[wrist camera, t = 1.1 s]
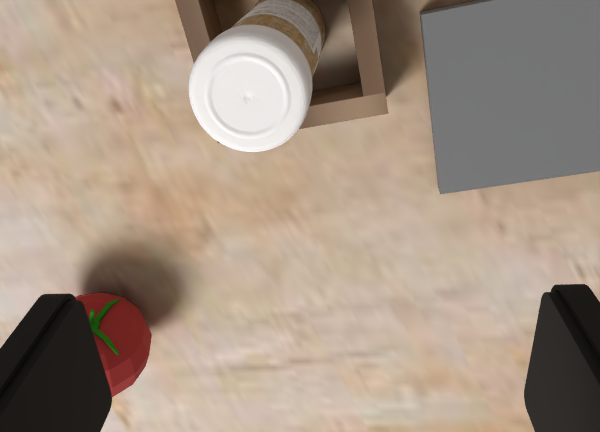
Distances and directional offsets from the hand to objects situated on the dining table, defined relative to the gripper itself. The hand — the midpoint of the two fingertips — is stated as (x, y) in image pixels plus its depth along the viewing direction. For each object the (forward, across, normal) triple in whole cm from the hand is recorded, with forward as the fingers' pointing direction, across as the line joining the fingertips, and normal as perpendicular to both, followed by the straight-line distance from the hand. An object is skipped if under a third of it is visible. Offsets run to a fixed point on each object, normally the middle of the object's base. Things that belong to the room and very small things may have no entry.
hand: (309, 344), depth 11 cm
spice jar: (+25, +2, -2) cm, 25 cm away
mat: (+24, -12, +2) cm, 27 cm away
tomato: (+25, +17, +19) cm, 36 cm away
